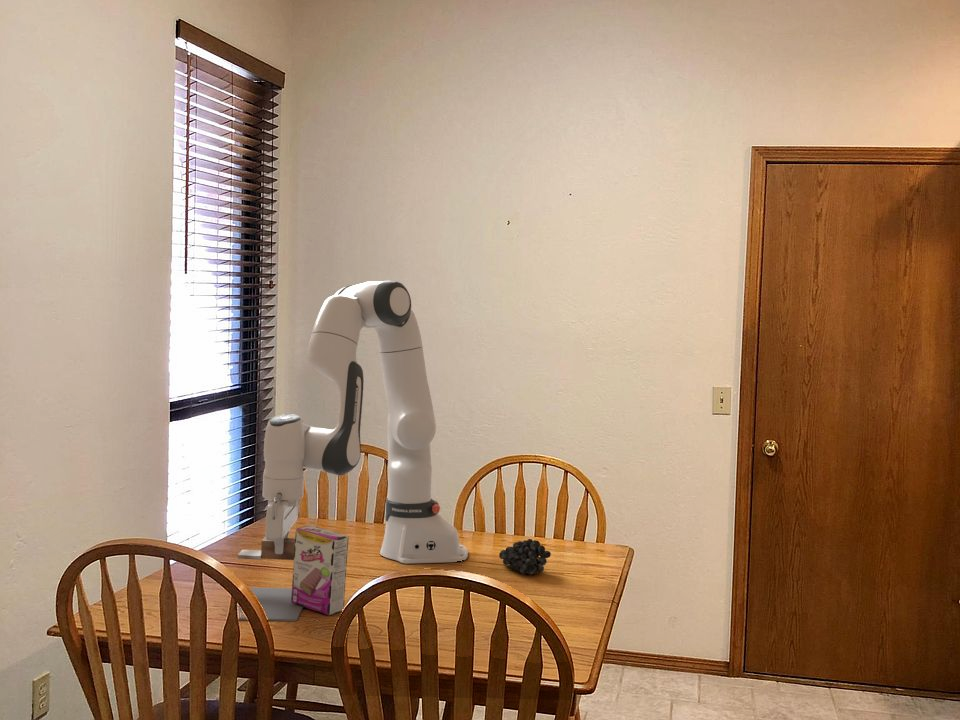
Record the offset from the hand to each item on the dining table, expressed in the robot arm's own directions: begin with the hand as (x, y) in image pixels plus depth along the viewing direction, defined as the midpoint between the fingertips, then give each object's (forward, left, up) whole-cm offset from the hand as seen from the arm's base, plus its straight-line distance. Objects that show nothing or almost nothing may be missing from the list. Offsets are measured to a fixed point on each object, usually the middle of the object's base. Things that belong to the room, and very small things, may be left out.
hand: (281, 550), depth 218 cm
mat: (0, +8, -10) cm, 12 cm away
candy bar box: (-9, +10, -10) cm, 17 cm away
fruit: (-55, -22, -10) cm, 60 cm away
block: (+3, 0, -2) cm, 3 cm away
